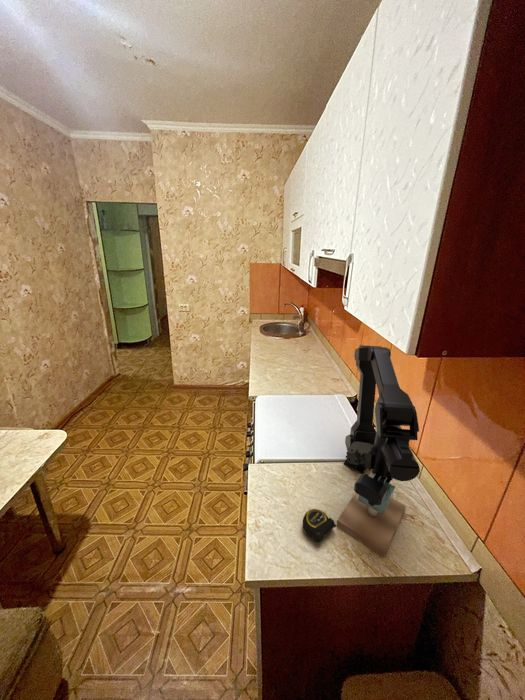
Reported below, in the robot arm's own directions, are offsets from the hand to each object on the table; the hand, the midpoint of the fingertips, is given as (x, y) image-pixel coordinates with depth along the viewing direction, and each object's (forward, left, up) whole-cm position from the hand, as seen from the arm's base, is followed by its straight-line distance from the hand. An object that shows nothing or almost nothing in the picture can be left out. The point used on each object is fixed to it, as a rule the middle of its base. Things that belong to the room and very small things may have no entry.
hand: (376, 496), depth 74 cm
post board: (0, 0, -8) cm, 8 cm away
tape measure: (+12, -9, -8) cm, 17 cm away
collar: (0, 0, -1) cm, 1 cm away
